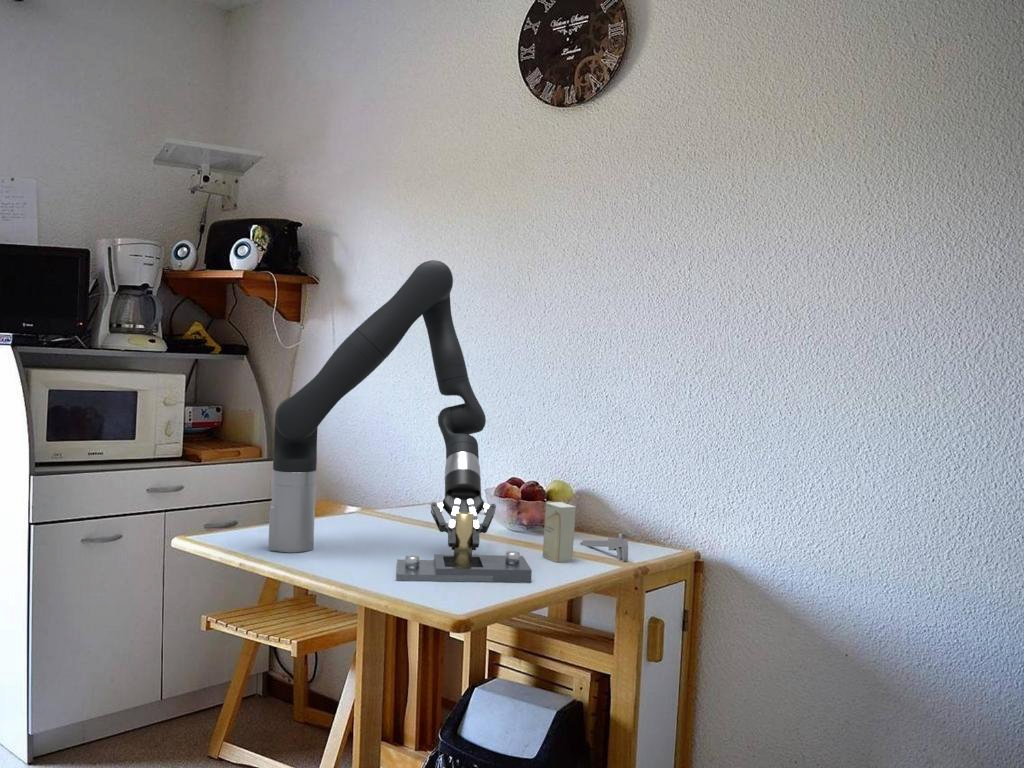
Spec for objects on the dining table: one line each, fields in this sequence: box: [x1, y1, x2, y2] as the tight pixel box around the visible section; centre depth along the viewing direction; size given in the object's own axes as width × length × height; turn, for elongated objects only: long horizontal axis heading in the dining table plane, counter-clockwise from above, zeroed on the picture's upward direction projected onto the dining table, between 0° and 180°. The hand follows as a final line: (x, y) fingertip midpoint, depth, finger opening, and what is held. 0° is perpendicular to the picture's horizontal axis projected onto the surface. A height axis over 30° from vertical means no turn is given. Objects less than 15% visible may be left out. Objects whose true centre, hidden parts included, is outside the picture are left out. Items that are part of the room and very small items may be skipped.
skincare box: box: [542, 501, 577, 563], centre depth 195 cm, size 6×4×12 cm
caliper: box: [579, 533, 629, 562], centre depth 205 cm, size 20×1×6 cm, turn 24°
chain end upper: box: [433, 550, 533, 583], centre depth 178 cm, size 18×13×4 cm
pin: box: [453, 512, 474, 567], centre depth 178 cm, size 4×4×11 cm
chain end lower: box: [396, 554, 494, 583], centre depth 177 cm, size 18×13×3 cm
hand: (464, 547), depth 176 cm, fingers closed on pin, 3 cm apart
